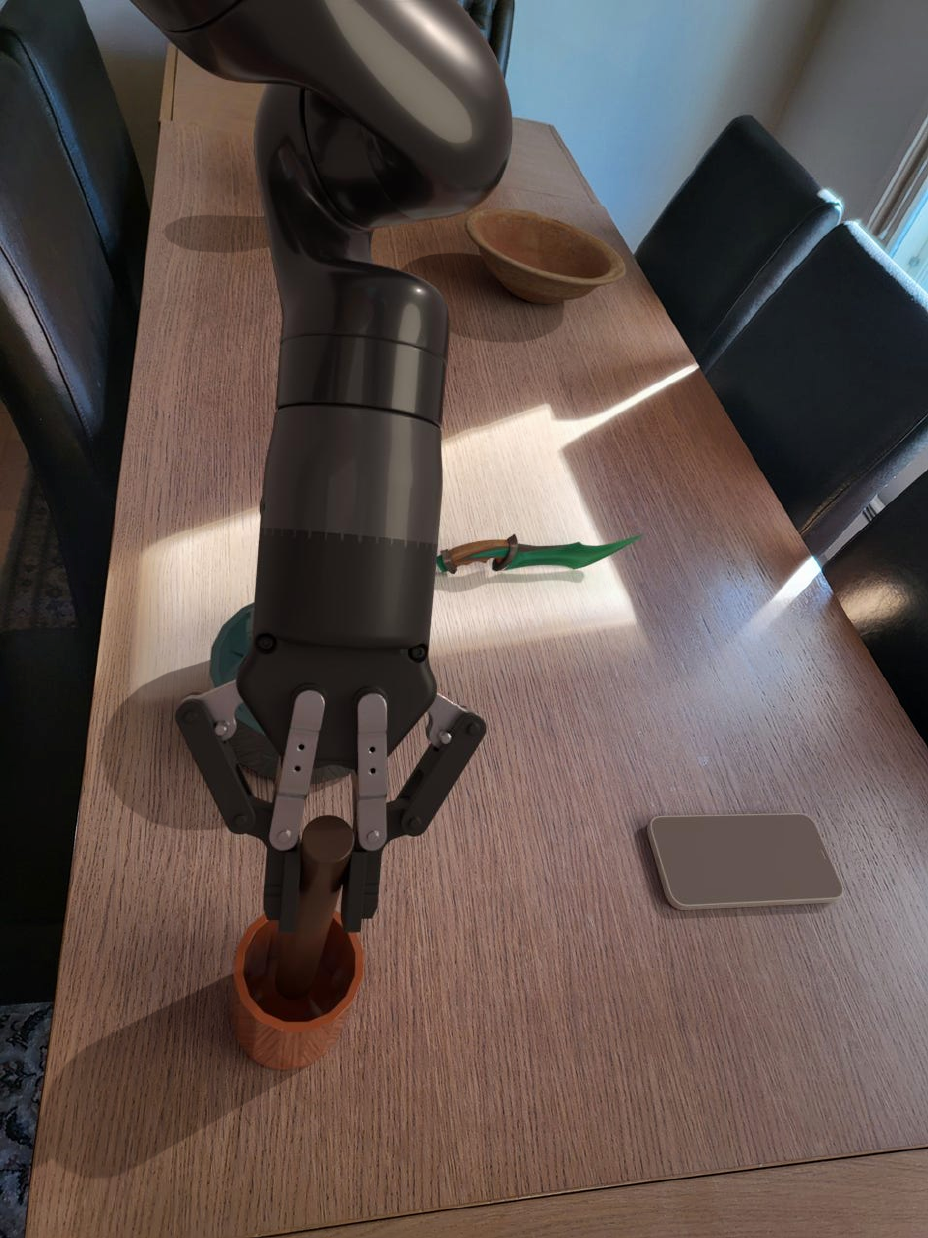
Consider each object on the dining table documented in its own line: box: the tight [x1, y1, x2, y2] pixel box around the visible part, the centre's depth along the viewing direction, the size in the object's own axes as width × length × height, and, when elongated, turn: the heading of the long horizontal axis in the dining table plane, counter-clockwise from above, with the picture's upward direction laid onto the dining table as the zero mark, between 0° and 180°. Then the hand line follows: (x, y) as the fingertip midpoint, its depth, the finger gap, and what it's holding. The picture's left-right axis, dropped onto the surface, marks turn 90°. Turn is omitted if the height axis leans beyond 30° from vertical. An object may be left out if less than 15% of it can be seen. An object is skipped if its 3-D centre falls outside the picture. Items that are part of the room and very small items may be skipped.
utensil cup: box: [230, 909, 365, 1071], centre depth 48 cm, size 7×7×8 cm
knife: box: [436, 533, 645, 575], centre depth 81 cm, size 21×2×5 cm, turn 105°
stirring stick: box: [275, 814, 355, 1000], centre depth 41 cm, size 2×2×18 cm
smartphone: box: [646, 812, 844, 911], centre depth 65 cm, size 7×1×15 cm
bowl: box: [464, 207, 627, 305], centre depth 120 cm, size 24×24×8 cm
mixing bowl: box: [208, 601, 351, 784], centre depth 64 cm, size 14×14×6 cm
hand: (319, 924), depth 36 cm, fingers closed on stirring stick, 2 cm apart
